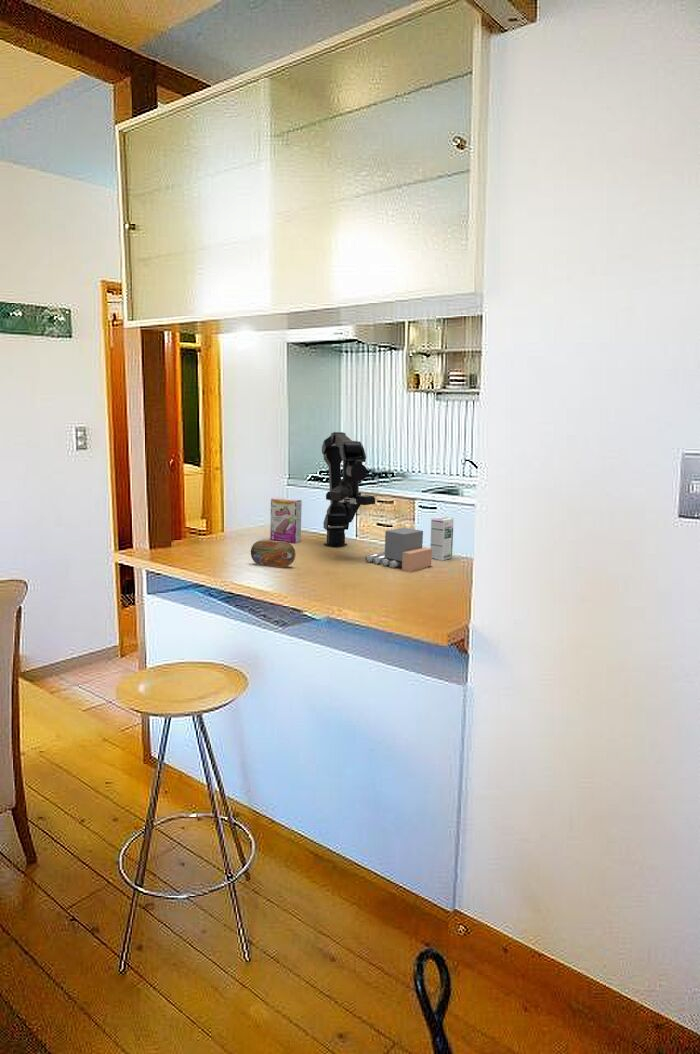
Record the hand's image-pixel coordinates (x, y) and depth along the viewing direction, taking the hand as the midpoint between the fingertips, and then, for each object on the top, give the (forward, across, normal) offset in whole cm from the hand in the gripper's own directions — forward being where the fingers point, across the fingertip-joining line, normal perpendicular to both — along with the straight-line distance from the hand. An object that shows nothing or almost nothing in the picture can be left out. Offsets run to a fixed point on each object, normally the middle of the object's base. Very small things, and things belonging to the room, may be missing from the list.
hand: (349, 522), depth 247 cm
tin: (+12, -6, -30) cm, 33 cm away
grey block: (+9, +22, +3) cm, 24 cm away
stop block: (+12, +28, +3) cm, 30 cm away
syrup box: (+12, +24, +22) cm, 35 cm away
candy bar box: (+12, -34, +1) cm, 36 cm away
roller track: (+12, +17, +3) cm, 21 cm away
